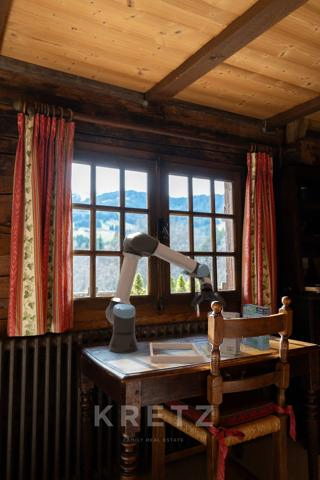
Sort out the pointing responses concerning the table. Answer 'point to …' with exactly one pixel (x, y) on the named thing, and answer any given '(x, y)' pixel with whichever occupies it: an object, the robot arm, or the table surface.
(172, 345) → the frame
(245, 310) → the gum box
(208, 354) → the mat
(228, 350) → the hard drive box
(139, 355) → the table surface
